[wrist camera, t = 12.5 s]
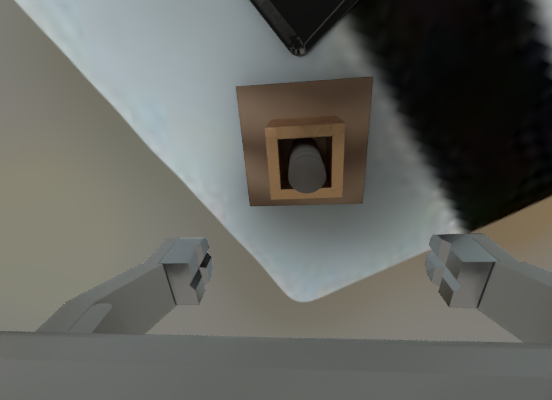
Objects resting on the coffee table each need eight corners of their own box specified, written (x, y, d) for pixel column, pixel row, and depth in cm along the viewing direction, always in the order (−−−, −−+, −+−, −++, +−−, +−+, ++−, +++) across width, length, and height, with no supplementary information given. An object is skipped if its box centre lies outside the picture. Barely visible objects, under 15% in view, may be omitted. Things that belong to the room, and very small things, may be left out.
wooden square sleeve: (270, 119, 24) (264, 128, 19) (335, 115, 23) (345, 122, 19) (275, 179, 26) (270, 199, 22) (334, 177, 26) (342, 197, 21)
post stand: (239, 86, 24) (207, 87, 16) (368, 77, 23) (411, 72, 14) (252, 200, 29) (233, 249, 21) (359, 197, 28) (387, 247, 19)
